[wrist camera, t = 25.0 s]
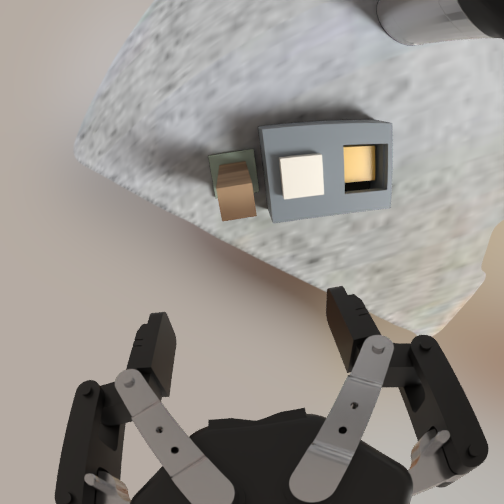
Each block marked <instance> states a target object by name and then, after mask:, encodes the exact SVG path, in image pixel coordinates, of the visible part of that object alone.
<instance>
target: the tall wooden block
mask: <svg viewBox="0 0 504 504" xmlns="http://www.w3.org/2000/svg"><path fill="white" fill-rule="evenodd" d="M216 191H217V196H218V201H219V207H220V212H221V217H222V221H228V220H234V219H240V218H247V217H253V216H257V215H256V208H255V201H254V194H253V186H252V181H251V178H250V175H249V171H248V168H247V164H246V161H242V162H236V163H229V164H223V165H219V171H218V178H217V186H216Z"/></svg>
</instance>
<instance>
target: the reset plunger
mask: <svg viewBox="0 0 504 504" xmlns="http://www.w3.org/2000/svg"><path fill="white" fill-rule="evenodd" d="M343 149H344V178H345V183H349V182H360V181H372V180H375V146H374V145H371V144H356V145H343Z"/></svg>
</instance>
